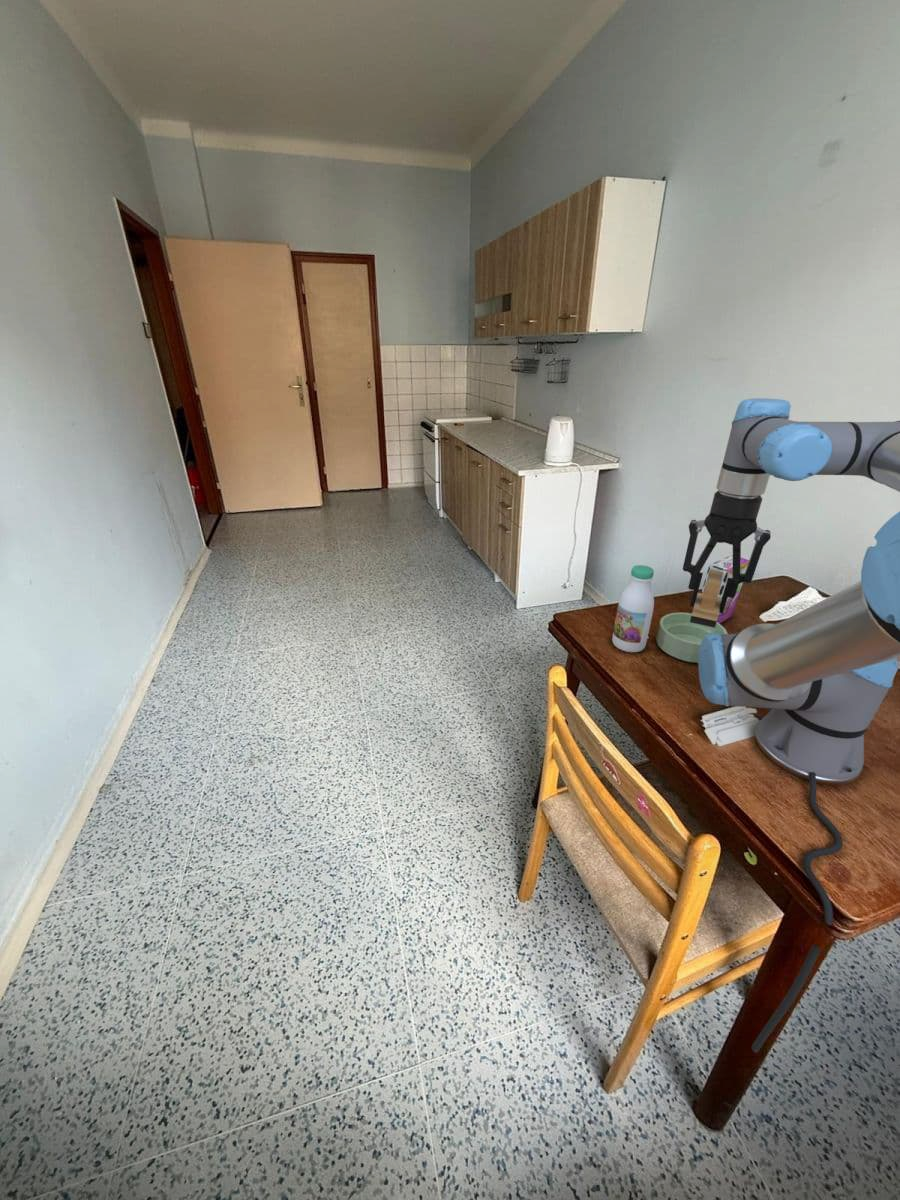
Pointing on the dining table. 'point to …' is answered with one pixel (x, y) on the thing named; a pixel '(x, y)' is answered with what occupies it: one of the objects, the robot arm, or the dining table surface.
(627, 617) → the milk bottle
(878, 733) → the dining table surface
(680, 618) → the bowl
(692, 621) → the brush
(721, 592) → the candy bar box
